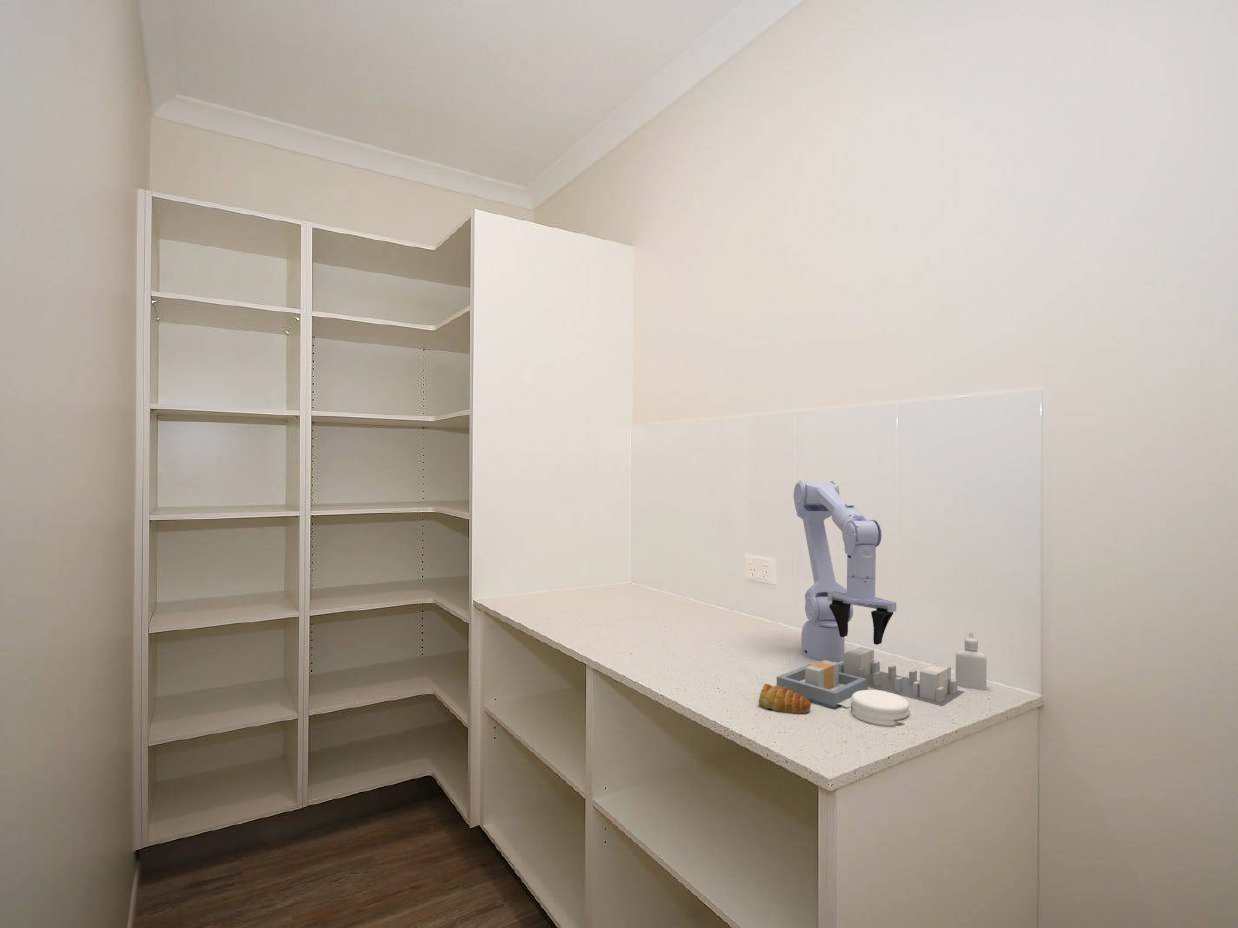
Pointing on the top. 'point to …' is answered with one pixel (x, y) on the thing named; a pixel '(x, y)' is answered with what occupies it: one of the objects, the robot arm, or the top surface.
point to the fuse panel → (904, 684)
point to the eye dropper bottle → (971, 665)
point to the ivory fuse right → (934, 680)
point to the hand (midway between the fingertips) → (860, 639)
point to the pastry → (783, 700)
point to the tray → (822, 694)
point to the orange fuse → (822, 674)
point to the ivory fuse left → (858, 661)
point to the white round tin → (879, 707)
